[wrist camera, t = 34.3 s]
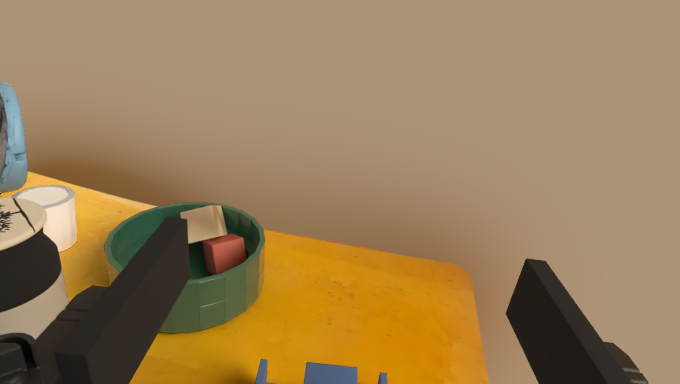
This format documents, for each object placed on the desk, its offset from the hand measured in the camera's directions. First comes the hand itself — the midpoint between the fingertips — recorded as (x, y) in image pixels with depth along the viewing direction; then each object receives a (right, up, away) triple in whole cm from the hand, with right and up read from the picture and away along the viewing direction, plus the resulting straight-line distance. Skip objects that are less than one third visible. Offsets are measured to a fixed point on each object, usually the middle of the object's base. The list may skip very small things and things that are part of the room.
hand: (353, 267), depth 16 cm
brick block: (-15, -7, +37) cm, 40 cm away
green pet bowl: (-19, -9, +35) cm, 41 cm away
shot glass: (-39, -4, +40) cm, 56 cm away
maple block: (-18, -1, +35) cm, 40 cm away
